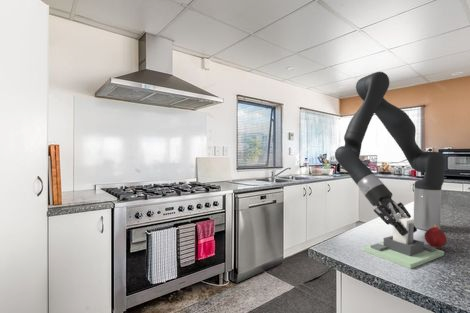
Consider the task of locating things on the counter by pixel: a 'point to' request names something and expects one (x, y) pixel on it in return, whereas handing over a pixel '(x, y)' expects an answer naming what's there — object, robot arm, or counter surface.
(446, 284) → the counter surface
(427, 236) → the onion
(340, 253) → the counter surface
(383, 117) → the robot arm
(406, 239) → the plug
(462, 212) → the counter surface
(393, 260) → the board
